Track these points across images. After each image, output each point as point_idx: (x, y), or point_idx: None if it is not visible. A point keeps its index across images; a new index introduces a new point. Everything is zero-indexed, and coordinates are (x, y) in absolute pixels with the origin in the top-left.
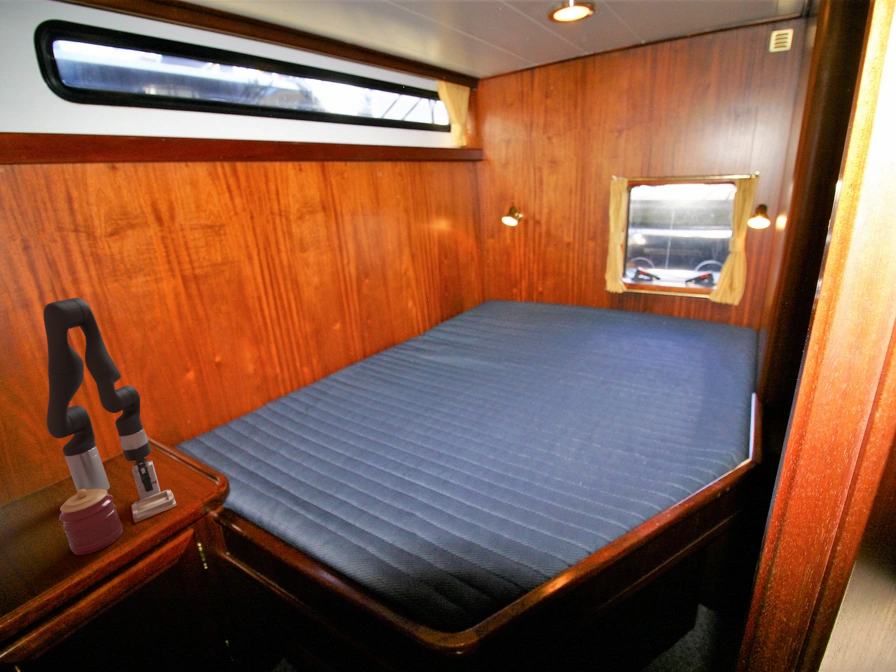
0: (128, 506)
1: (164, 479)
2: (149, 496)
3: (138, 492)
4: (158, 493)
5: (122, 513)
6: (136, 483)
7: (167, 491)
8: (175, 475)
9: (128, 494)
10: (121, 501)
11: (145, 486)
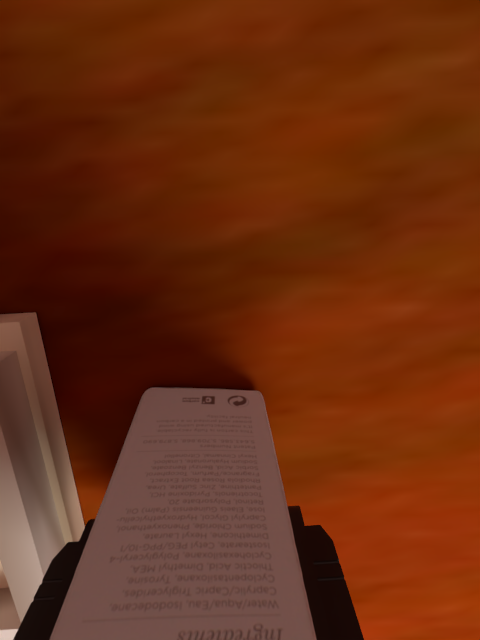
0: (156, 277)
1: (459, 544)
2: (23, 511)
3: (124, 457)
4: (33, 576)
5: (28, 222)
6: (61, 608)
7: (15, 634)
8: (447, 606)
9: (462, 278)
10: (352, 211)
11: (58, 601)
